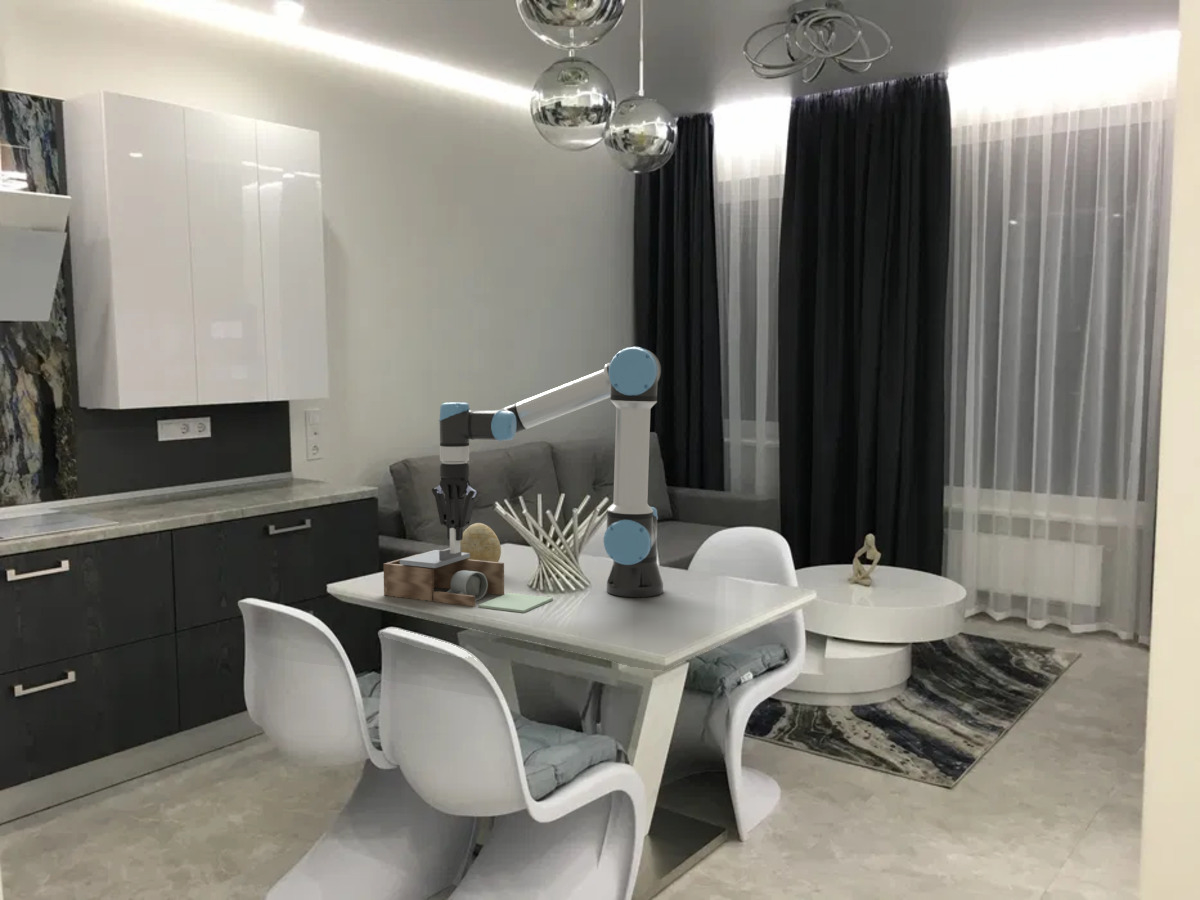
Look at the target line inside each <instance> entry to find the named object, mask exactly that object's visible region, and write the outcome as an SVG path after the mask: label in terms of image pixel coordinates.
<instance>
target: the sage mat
mask: <svg viewBox="0 0 1200 900" xmlns="http://www.w3.org/2000/svg"><path fill="white" fill-rule="evenodd" d="M553 600H554V599H553V597H549V596H548V597H547V596H541V595H534V594H533V595H532V594H523V593H516V592H515V593H514V592H506V593H504V595H499V596H497V597H495V598H493V599H489V600H487V601H485V602H483V603H479V604H478V605H477V606H478V608H483V609H490V610H491V609H492V610H499V611H505V612H506V611H507V612H515V613H521V614H522V613H523V614H524V613H526V612H529V611H531V610H534V609H535V608H538V607H540V606H542V605H545V604H547V603H549V602H552V601H553Z"/></svg>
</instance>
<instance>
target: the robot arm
mask: <svg viewBox="0 0 1200 900" xmlns="http://www.w3.org/2000/svg"><path fill="white" fill-rule="evenodd" d="M661 366H662V365H661V363H660V361H659V358H658V357H657V356H656V354H655V353H653V352H652V351H650V350H649V349H647V348H643V347H640V346H628V347H625V348H623V349H621V350H620V351H617V353H616V354H615V355H614V356H613V357H612V360H611V361H610V362H607V363H606V364H605V365H604V367H603V369H600V370H597V371H595V372H593V373H590V374H587V375H585V376H582V377H579V378H578V379H575V380H573V381H569V382H567V383H564V384H562V385H559V386H556V387H554V388H551V389H549V390H546V391H543V392H541V393H539V394H536V395H533V396H531V397H528V398H525V399H523V400H521V401H518V402H516V403H513V404H510V405H507V406H506V407H502V408H499V409H495V410H473V409H470V404H469V403H468V402H459V401H457V402H456V401H455V402H454V401H453V402H452V401H450V402H444V403H441V405H440V408H439V419H438V422H439V461H440V464H439V477H440V481H439V485H438V486H436V487H434V488H432V489H431V493H432V494H433V496H434V497H435V504H436V508H437V513H438V518H439V522H440V525H441V526H445V527H446V528H447V529H446V530H447V531H446V533H447V537H446V538H447V540H448V541H449V548H450V553H453V554H455V553H459V552H460V540H462V539H463V532H464V531H463V530H464V529H463V528H465V527H468V526H470V522H471V518H472V514H473V513H472V512H473V508H474V504H475V499H476V497H477V495H478V494H479V491H478V489H474V488H473V487H471V483H470V481H469V478H470V463H469V462H468V461H470V440H480V441H481V440H484V441H486V440H487V441H498V442H502V441H511V440H513V439H514V438H515V437H516V435H517V433H520V432H523V431H526V430H528V429H530V428H533V427H535V426H538V425H541V424H543V423H545V422H548V421H551V420H554V419H557V418H559V417H561V416H564V415H566V414H569V413H573V412H575V411H577V410H581V409H583V408H586V407H588V406H590V405H593V404H596V403H599V402H601V401H604V400H607V399H609V398H610V399H609V400H610V403H612V404H613V405H614V406H615V441H614V471H613V472H614V473H613V477H614V479H613V501H612V502H613V503H611V504H610V505H609V506H608V507H607V508H606V509H607V510H606V511H607V512H606V530H605V533H604V535H603V548H604V549H605V552H606V554H607V555H608V557H610V559H611V560H612V561H613V562H612V566H611V568H610V572H609V574H608V578H607V581H606V592H607V593H608V594H610V595H614V596H618V597H625V598H645V597H646V598H647V597H648V598H649V597H655V596H658V595H661V594H662V593H663V592H664V582H663V579H662V578H663V577H662V576H661V572H660V570H659V566H658V558H657V557H658V520H659V516H658V510H657V508H656V507H654V506H650V505H649V504H648V496H649V495H648V493H649V491H648V490H649V465H650V463H649V461H650V460H649V459H650V440H651V439H650V435H651V432H650V430H651V409H652V408H653V407H654V406H655V405H656V404H657V403H658V382H659V380H660V378H661V373H662V367H661Z"/></svg>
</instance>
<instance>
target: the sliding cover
mask: <svg viewBox="0 0 1200 900" xmlns="http://www.w3.org/2000/svg"><path fill="white" fill-rule="evenodd" d="M418 554H419V555H416V554H414V555H415V556H413V555H411V556H412V557H409V556H407V557H408V558H406V557H403V558H404V559H402V558H400V559H401V560H400V564H401V565H410V566H419V567H428V568H438V567H441V566H444V565H447V564H451V563H454V562H457V561H460V560H463V559H467V558H470V553H464V552H461V546H460V552H459V553H455V554H453V553H450V547H448V548H445V549H441V550H439V549H433V550H430V551H426V552H422V553H418Z"/></svg>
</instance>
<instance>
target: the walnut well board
mask: <svg viewBox="0 0 1200 900" xmlns="http://www.w3.org/2000/svg"><path fill="white" fill-rule="evenodd" d="M419 554H420V553H418V554H413V555H410V556H406V557H403V558H399V559H395V560H392V561H387V562H386V563H385V562H384V563H383V596H385V595H387V597H393V596H395V597H394V598H401V597H404V598H403V599H409V598H411V599H410V600H417V599H420V600H419V601H425V600H428V601H427V602H433V601H435V602H434V603H441V602H442V604H451V605H457V606H458V605H459V606H466V607H476V601H475V596H472V595H464V594H455V593H447V591H446V592H445V591H438V590H435V588H439V589H448V590H450V589H451V587H450V582H451V578H452V576H453V575H454V574H455V573H456V572H458V571H462V570H467V571H475V572H481V573H483V574H484V575H485V577H486V579H487V583H488V586H487V591H486V593H485V594H490V595H496V596H497V595H499V596H502V595H504V594H505V563H504V562H500V561H498V562H490V561H480V560H471V559H463V560H460V561H457V562H454V563H451V564H447V565H444V566H441V567H438V568H428V567H419V566H410V565H401V564H400V560H401V559H404V558H408V557H412V556H415V555H419Z"/></svg>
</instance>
